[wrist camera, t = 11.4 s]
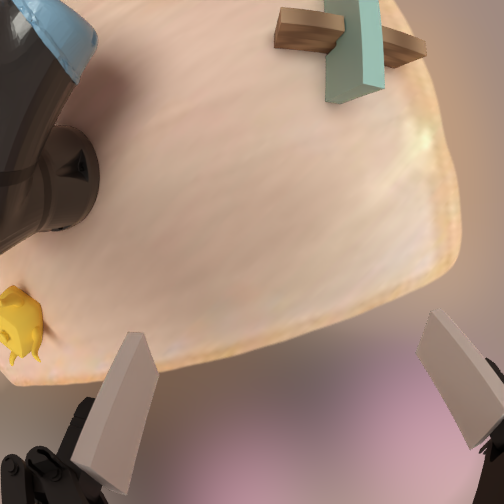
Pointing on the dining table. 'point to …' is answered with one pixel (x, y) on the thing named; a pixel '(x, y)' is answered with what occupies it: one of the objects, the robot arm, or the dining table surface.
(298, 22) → the walnut plate
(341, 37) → the sage plate
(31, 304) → the yellow lumpy piece
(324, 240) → the dining table surface
